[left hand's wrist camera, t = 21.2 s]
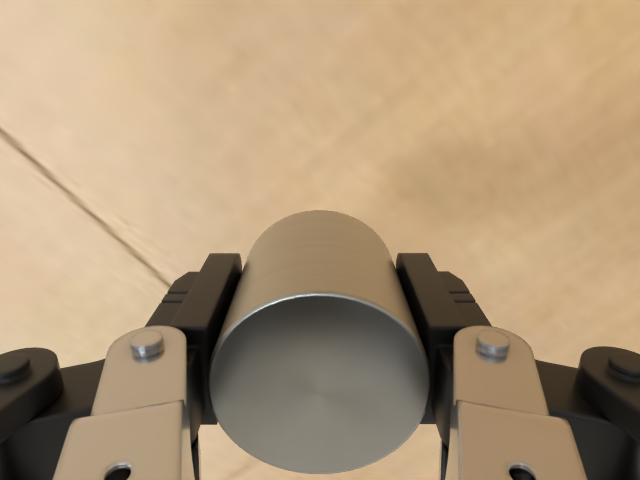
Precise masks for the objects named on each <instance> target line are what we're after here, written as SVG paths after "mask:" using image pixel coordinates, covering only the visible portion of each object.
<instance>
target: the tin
mask: <svg viewBox="0 0 640 480" xmlns="http://www.w3.org/2000/svg"><path fill="white" fill-rule="evenodd" d="M431 386H432V381H431V369H430V364H429V360H428V357H427V354H426V352H425V349H424V346H423V343H422V341H421V338H420V335H419V332H418V330H417V327H416V324H415V321H414V318H413V316H412V313H411V310H410V307H409V305H408V302H407V299H406V296H405V294H404V291H403V288H402V285H401V283H400V280H399V277H398V274H397V271H396V269H395V266H394V263H393V260H392V258H391V255H390V252H389V251H388V249H387V247H386V245H385V243H384V242H383V241H382V239H381V238H380V237H379V236H378V235H377V234H376V233H375V232H374V231H373V230H372V229H371V228H370V227H368V226H367V225H366V224H364V223H363V222H361V221H359V220H357V219H356V218H353V217H351V216H348V215H346V214H342V213H338V212H333V211H326V210H314V211H305V212H301V213H297V214H293V215H291V216H288V217H286V218H284V219H282V220H280V221H278V222H276V223H275V224H273V225H272V226H271V227H269V228H268V229H267V230H266V231H265V232H264V233H263V234H262V235H261V236H260V237H259V238H258V240H257V241H256V242H255V244H254V245H253V247H252V249H251V250H250V253H249V255H248V258H247V260H246V263H245V266H244V269H243V271H242V274H241V277H240V279H239V282H238V285H237V288H236V290H235V293H234V296H233V299H232V301H231V304H230V307H229V309H228V312H227V315H226V318H225V320H224V323H223V326H222V329H221V331H220V334H219V337H218V339H217V342H216V345H215V348H214V350H213V353H212V356H211V359H210V363H209V367H208V374H207V388H208V396H209V400H210V404H211V407H212V410H213V412H214V414H215V417H216V419H217V421H218V422H219V424H220V425H221V427H222V429H223V430H224V431H225V432H226V434H227V435H228V436H229V437H230V438H231V439H232V440H233V441H234V442H235V443H236V444H237V445H238V446H239V447H240V448H242V449H243V450H244V451H246V452H247V453H249V454H250V455H252V456H254V457H255V458H257V459H259V460H261V461H263V462H265V463H267V464H270V465H272V466H275V467H278V468H281V469H284V470H289V471H294V472H299V473H308V474H330V473H340V472H345V471H350V470H354V469H357V468H361V467H364V466H366V465H369V464H371V463H374V462H376V461H378V460H380V459H382V458H384V457H385V456H387V455H389V454H390V453H391V452H393V451H394V450H396V449H397V448H398V447H399V446H401V445H402V444H403V443H404V442H405V441H406V440H407V439H408V438H409V437H410V436H411V434H412V433H413V432H414V431H415V430H416V428H417V426H418V425H419V423H420V422H421V420H422V418H423V416H424V414H425V412H426V409H427V406H428V402H429V399H430V394H431Z"/></svg>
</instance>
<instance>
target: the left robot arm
mask: <svg viewBox="0 0 640 480" xmlns="http://www.w3.org/2000/svg"><path fill="white" fill-rule="evenodd" d="M396 271H397V274H398V277H399V280H400V283H401V285H402V288H403V291H404V294H405V296H406V299H407V302H408V305H409V307H410V310H411V313H412V316H413V318H414V321H415V324H416V327H417V330H418V332H419V335H420V338H421V341H422V343H423V346H424V349H425V352H426V354H427V357H428V360H429V364H430V369H431V381H432V386H431V394H430V399H429V402H428V406H427V409H426V412H425V414H424V416H423V418H422V420H421V422H420V424H436V425H437V428H438V431H439V434H440V437H441V445H440V457H439V480H640V354H638V353H635V352H632V351H628V350H625V349H620V348H615V347H593V348H590V349H587V350H585V351H584V352H583V353H582V355H581V358H580V362H579V366H578V368H573V367H568V366H563V365H558V364H553V363H547V362H543V361H539V360H535V359H534V355H533V352H532V349H531V347H530V346H529V345H528V343H527V342H526V341H525V340H523V339H522V338H520V337H519V336H517V335H516V334H514V333H511V332H509V331H506V330H504V329H500V328H497V327H492V326H491V324H490V322H489V321H488V319H487V318H486V316H485V315H484V313H483V312H482V310H481V309H480V307H479V305H478V304H477V303H475V299H474V298H473V296H472V295H471V294H470V291H469V290H468V288H467V287H466V285H465V284H464V282H463V281H462V280H461V279H459V278H458V277H456V276H455V275H453V274H451V273H450V272H438V271H437V269H436V267H435V266H434V264H433V262H432V260H431V258H430V257H429V255H428V254H427V253H398V255H397V260H396ZM241 274H242V263H241V257H240V254H239V253H211V254H209V256H208V258H207V259H206V261H205V263H204V265H203V267H202V268H201V270H200V272H188V273H186V274H185V275H183V276H182V277H180V278H179V279H177V280H176V281H174V283H173V284H172V286H171V287H170V289H169V291H168V294H166V295H165V297H164V298H163V300H162V303H160V304H159V306H158V307H157V309H156V310H155V312H154V313H153V315H152V316H151V318H150V320H149V321H148V323H147V324H146V326H145V327H143V328H140V329H136V330H133V331H131V332H129V333H126V334H124V335H123V336H121V337H120V338H118V339H117V340H115V341H114V342H113V343H112V345H111V346H110V347H109V349H108V352H107V355H106V359H103V360H100V361H96V362H91V363H86V364H81V365H76V366H71V367H66V368H61V369H60V366H59V363H58V359H57V356H56V354H55V353H54V352H52V351H51V350H48V349H44V348H24V349H18V350H14V351H10V352H7V353H4V354H1V355H0V480H201V457H200V445H199V437H198V430H199V427H200V425H217V422H218V421H217V419H216V417H215V414H214V412H213V410H212V407H211V404H210V400H209V396H208V388H207V374H208V367H209V363H210V359H211V356H212V353H213V350H214V348H215V345H216V342H217V339H218V337H219V334H220V331H221V329H222V326H223V323H224V320H225V318H226V315H227V312H228V309H229V307H230V304H231V301H232V299H233V296H234V293H235V290H236V288H237V285H238V282H239V279H240V277H241Z"/></svg>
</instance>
